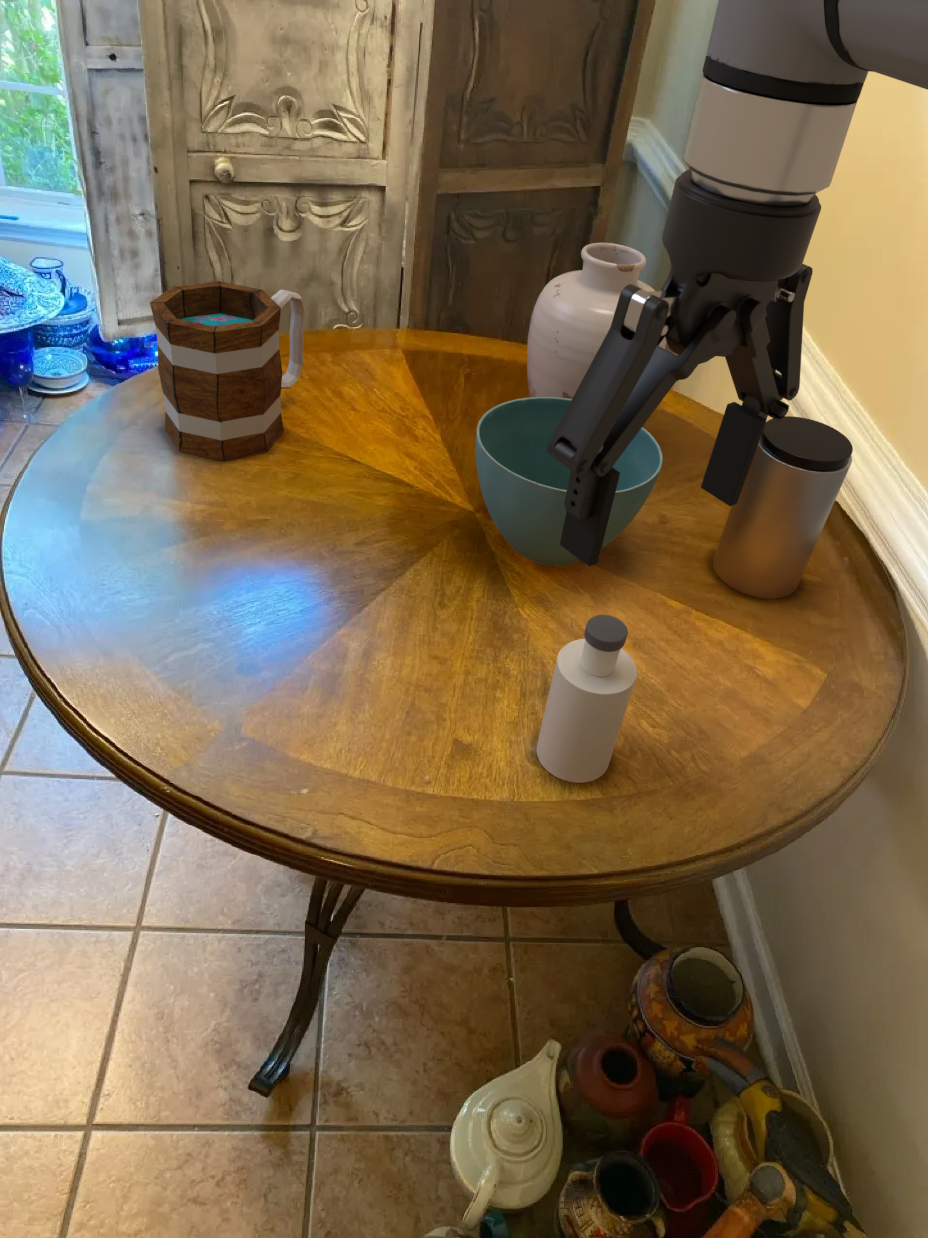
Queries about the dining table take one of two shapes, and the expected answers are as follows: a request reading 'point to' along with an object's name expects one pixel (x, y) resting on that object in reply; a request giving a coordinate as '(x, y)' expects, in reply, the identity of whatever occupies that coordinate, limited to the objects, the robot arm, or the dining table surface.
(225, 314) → the mug
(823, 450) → the metal canister
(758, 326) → the robot arm
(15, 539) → the dining table surface
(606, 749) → the bottle
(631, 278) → the vase
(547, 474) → the plant pot
